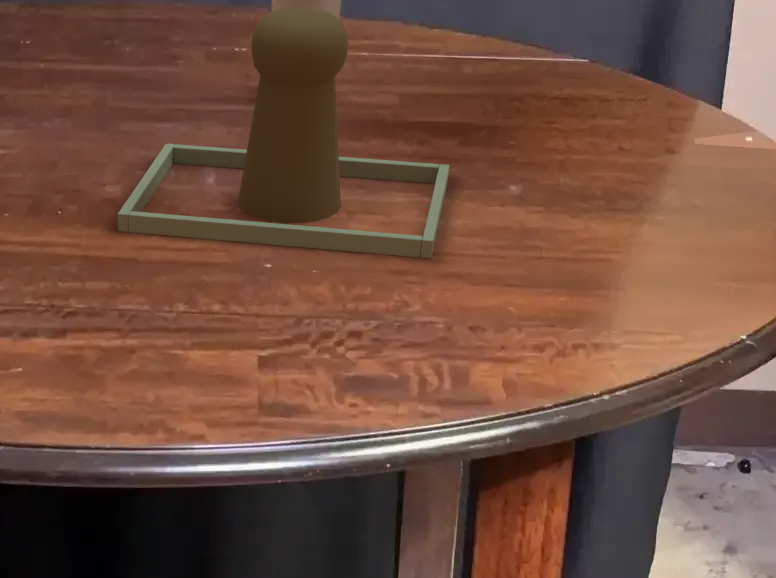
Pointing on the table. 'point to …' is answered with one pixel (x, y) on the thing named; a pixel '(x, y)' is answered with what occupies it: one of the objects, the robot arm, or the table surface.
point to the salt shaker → (308, 5)
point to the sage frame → (285, 233)
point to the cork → (294, 118)
